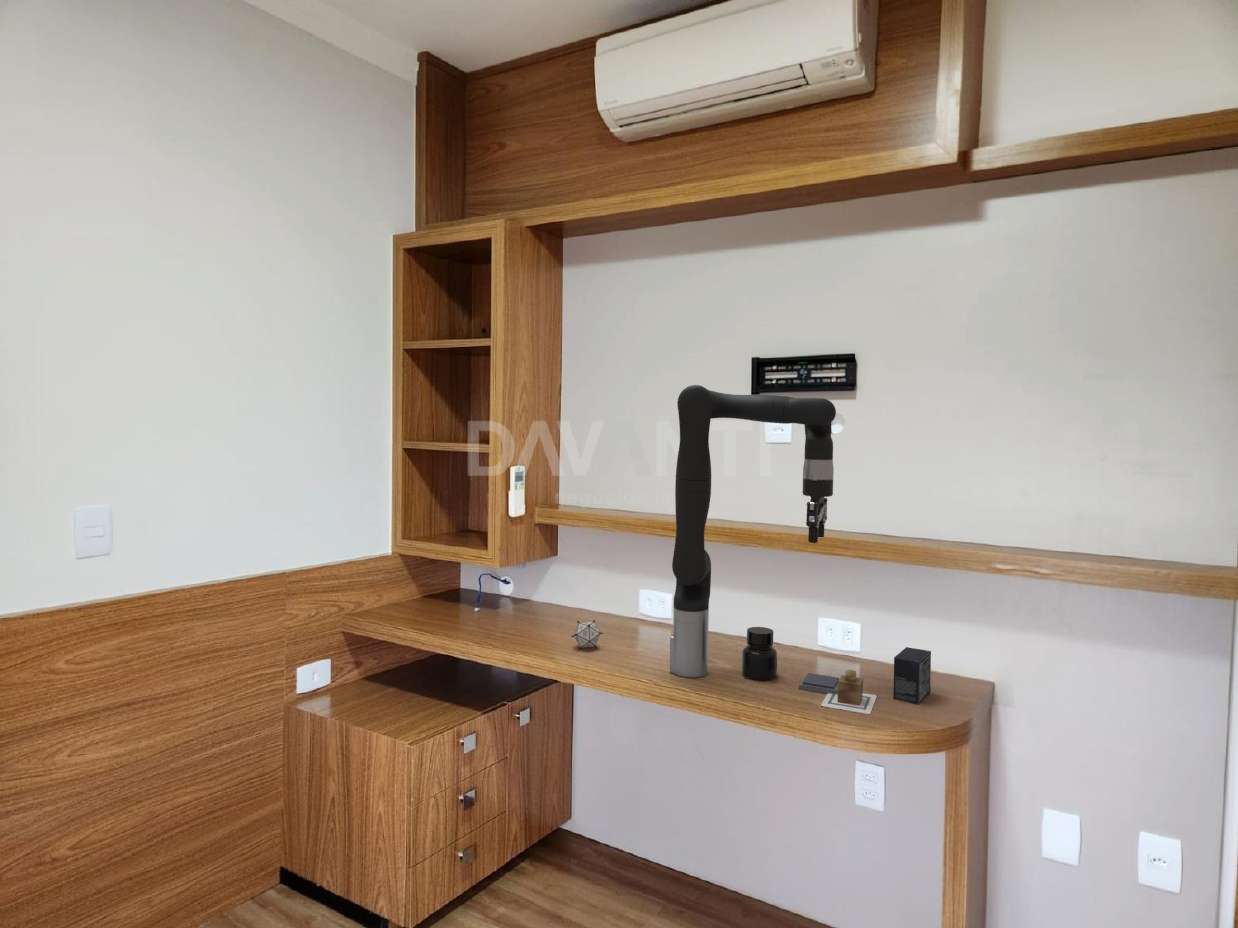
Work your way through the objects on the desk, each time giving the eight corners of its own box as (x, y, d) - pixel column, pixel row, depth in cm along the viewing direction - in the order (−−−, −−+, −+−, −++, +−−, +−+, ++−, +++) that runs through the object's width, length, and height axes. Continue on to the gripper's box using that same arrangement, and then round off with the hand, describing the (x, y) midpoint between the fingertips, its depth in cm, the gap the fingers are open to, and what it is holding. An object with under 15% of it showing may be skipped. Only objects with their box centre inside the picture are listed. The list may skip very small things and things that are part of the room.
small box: (903, 686, 189) (905, 645, 189) (931, 692, 185) (932, 650, 185) (891, 698, 181) (892, 656, 180) (919, 705, 177) (921, 661, 176)
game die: (589, 658, 220) (605, 628, 224) (595, 656, 212) (611, 625, 216) (563, 643, 220) (579, 613, 223) (567, 641, 212) (584, 610, 216)
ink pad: (798, 689, 186) (799, 682, 186) (806, 678, 194) (806, 671, 194) (836, 695, 182) (836, 688, 182) (842, 683, 190) (842, 677, 190)
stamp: (837, 701, 177) (838, 672, 177) (840, 695, 182) (841, 666, 182) (859, 705, 175) (860, 676, 175) (862, 698, 180) (863, 669, 179)
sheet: (820, 706, 175) (820, 705, 175) (830, 688, 187) (830, 687, 187) (870, 714, 170) (870, 713, 170) (876, 696, 182) (876, 694, 182)
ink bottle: (784, 675, 196) (785, 630, 196) (766, 684, 190) (767, 637, 189) (752, 667, 203) (753, 623, 202) (734, 675, 196) (735, 629, 195)
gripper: (808, 474, 199) (807, 535, 200) (797, 478, 186) (795, 543, 187) (837, 476, 196) (836, 537, 197) (828, 479, 183) (826, 545, 184)
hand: (816, 540), depth 192 cm, fingers open, 8 cm apart
